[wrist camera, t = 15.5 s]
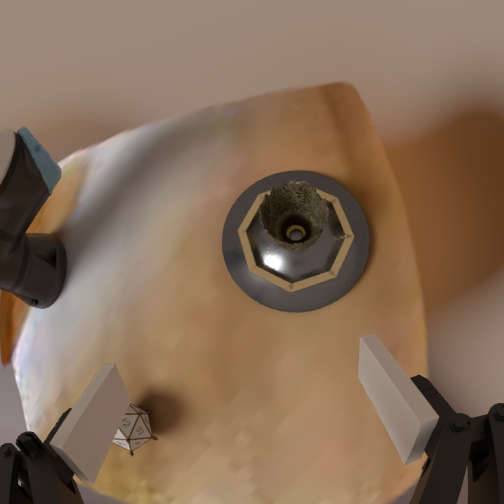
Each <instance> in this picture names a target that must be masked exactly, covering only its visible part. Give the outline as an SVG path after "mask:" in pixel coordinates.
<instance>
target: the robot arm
mask: <svg viewBox="0 0 504 504" xmlns="http://www.w3.org/2000/svg"><path fill="white" fill-rule="evenodd" d="M60 178H61V168H60V167H59V165H58V164H57V163H56V162H55V160H54V159H53V158H52V157H51V156H50V154H49V153H48V152H47V151H46V150H45V149H44V148H43V146H42V145H41V144H40V143H39V142H38V140H36V138H35V137H34V136H33V135H32V133H31V132H30V131H29V130H28V129H27V128H26V127H22V128H21V129H19V130H18V131H17V133H15V132H14V131H12V130H11V129H8V128H5V129H2V130H0V290H4V291H8V292H11V293H13V294H14V295H15V296H17V297H18V298H19V299H21V300H22V301H24V302H25V303H26V304H28V305H29V306H32V307H35V308H40V309H44V308H47V307H49V306H50V305H51V304H52V303H53V302H54V301H55V300H56V298H57V297H58V295H59V293H60V291H61V288H62V286H63V282H64V278H65V273H66V253H65V249H64V246H63V244H62V242H61V241H60V240H59V239H58V238H56V237H54V236H52V235H50V234H45V233H25V232H26V231H27V229H28V227H29V226H30V224H31V223H32V221H33V220H34V218H35V216H36V215H37V213H38V212H39V210H40V209H41V207H42V206H43V205H44V203H45V202H46V200H47V199H48V197H49V196H50V195H51V194H52V191H53V189H54V188H55V186H56V185H57V183H58V182H59V180H60ZM358 378H359V380H360V382H361V384H362V386H363V387H364V389H365V391H366V393H367V395H368V397H369V398H370V400H371V402H372V404H373V406H374V408H375V409H376V411H377V413H378V415H379V417H380V419H381V421H382V423H383V424H384V426H385V428H386V430H387V432H388V434H389V436H390V438H391V440H392V442H393V443H394V445H395V447H396V449H397V451H398V453H399V455H400V457H401V459H402V461H403V463H404V465H406V464H409V463H411V462H414V461H416V460H418V459H421V457H422V455H423V453H424V451H425V453H426V454H427V456H428V458H427V460H426V462H425V463H424V465H423V467H422V469H423V471H422V474H421V476H420V479H419V482H418V484H417V487H416V489H415V491H414V494H413V496H412V498H411V501H410V503H409V504H456V503H457V501H458V497H459V494H460V491H461V487H462V483H463V479H464V475H465V471H466V467H467V465H468V504H504V403H498V404H495V405H493V406H492V407H491V408H490V410H489V412H488V414H486V415H482V416H478V417H474V418H470V417H469V416H468V415H465V414H462V413H456V412H455V411H454V410H453V409H452V408H451V406H450V405H449V404H448V403H447V402H446V400H445V399H444V398H443V397H442V396H441V394H440V393H438V391H437V390H436V388H434V386H433V385H432V384H431V382H430V381H429V380H428V379H426V378H424V377H422V376H421V375H417V376H414V377H412V378H409V377H408V375H407V374H406V373H405V372H404V370H403V369H402V368H401V367H400V365H399V364H398V363H397V361H396V360H395V359H394V358H393V356H392V355H391V354H390V353H389V352H388V350H387V349H386V348H385V347H384V345H383V344H382V343H381V342H380V340H379V339H378V338H377V337H376V336H375V334H374V333H373V334H369V335H365V336H360V353H359V369H358ZM131 401H132V400H131V398H130V396H129V393H128V391H127V389H126V387H125V385H124V383H123V380H122V378H121V376H120V374H119V371H118V369H117V367H116V364H115V363H104V364H103V366H102V367H101V368H100V370H99V371H98V373H97V374H96V375H95V377H94V378H93V380H92V381H91V382H90V384H89V385H88V387H87V388H86V389H85V391H84V392H83V394H82V395H81V397H80V398H79V399H78V401H77V402H76V404H75V405H74V407H73V408H69V409H68V410H67V411H66V412H64V413H63V414H62V416H61V417H60V419H59V422H57V423H56V425H55V427H54V428H53V429H52V430H51V432H50V433H49V435H48V437H47V438H46V440H45V441H44V443H42V442H41V440H40V439H39V438H38V436H37V435H36V434H35V433H34V432H30V431H28V432H24V433H22V434H21V435H20V436H18V438H17V440H16V445H17V446H18V447H19V448H20V450H21V451H18V450H17V448H16V447H15V446H14V445H13V444H11V443H5V444H3V445H1V447H0V504H84V502H83V500H82V498H81V495H80V492H79V490H78V487H77V484H76V482H75V480H74V479H73V476H74V474H75V475H76V476H77V477H78V478H79V479H80V480H81V481H85V482H88V483H92V484H94V482H95V480H96V477H97V475H98V473H99V470H100V468H101V466H102V463H103V461H104V459H105V457H106V454H107V452H108V450H109V448H110V446H111V443H112V441H113V439H114V437H115V435H116V432H117V430H118V428H119V426H120V424H121V422H122V420H123V417H124V415H125V413H126V411H127V409H128V407H129V405H130V403H131ZM18 479H19V480H20V481H21V486H20V485H18Z"/></svg>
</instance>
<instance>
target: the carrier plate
mask: <svg viewBox="0 0 504 504" xmlns="http://www.w3.org/2000/svg"><path fill="white" fill-rule="evenodd" d="M292 180H294V181H295V182H296V184H299V183H301V182H303V181H305V182H308V183H309V185H310V186H311V187H315V188H316V191H317V194H319V195H320V196H321V198H322V199H324V198H325V199H326V201H327V206H328V209H329V216H328V219H327V223H326V226H325V228H324V230H323V232H322V233H321V235H320V237H319V238H318V240H317V241H316V242H315V243H314V244H313V245H312V246H310V247H309V248H307V249H304V250H301V251H290V250H286V249H284V248H282V247H280V246H279V245H277V244H276V243H275V242H274V241H273V240H272V239H271V237H270V236H269V235H268V234H267V232H266V231H265V229H264V227H263V225H262V224H261V223H260V219H259V217H260V213H259V205H260V204H261V203H263V202H264V196H265V194H268V195H270V192H271V189H272V187H274V186H277V187H278V186H279V184H280V183H284V184H287V185H288V186H289V183H290V182H291V181H292ZM290 238H291V239H292V240H300V239H301V238H302V232H301V231H300V230H298V229H294V230H292V231H291V233H290ZM369 248H370V234H369V227H368V223H367V220H366V217H365V214H364V212H363V210H362V208H361V206H360V205H359V203H358V202H357V200H356V199H355V198H354V197H353V195H352V194H351V193H350V192H349V191H348V190H347V189H345V188H344V187H343V186H342V185H340V184H339V183H337V182H336V181H334V180H332V179H330V178H328V177H326V176H323V175H320V174H317V173H312V172H307V171H287V172H281V173H277V174H273V175H270V176H268V177H265V178H263V179H261V180H259V181H257V182H256V183H254V184H253V185H252V186H250V187H249V188H248V189H247V190H245V191H244V192H243V193H242V194H241V195H240V197H239V198H238V199H237V200H236V201H235V203H234V204H233V206H232V208H231V209H230V211H229V213H228V216H227V218H226V221H225V224H224V229H223V236H222V250H223V255H224V260H225V263H226V266H227V268H228V270H229V272H230V274H231V276H232V278H233V279H234V281H235V282H236V284H237V285H238V286H239V287H240V288H241V289H242V290H243V291H244V292H245V293H246V294H247V295H248V296H250V297H251V298H252V299H254V300H255V301H257V302H259V303H260V304H262V305H264V306H267V307H269V308H272V309H275V310H278V311H284V312H308V311H313V310H317V309H320V308H323V307H325V306H327V305H330V304H331V303H333V302H335V301H336V300H338V299H339V298H341V297H342V296H343V295H344V294H346V293H347V292H348V291H349V290H350V289H351V287H352V286H353V285H354V284H355V283H356V281H357V280H358V279H359V277H360V275H361V273H362V272H363V270H364V268H365V265H366V262H367V259H368V254H369Z"/></svg>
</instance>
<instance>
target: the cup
mask: <svg viewBox="0 0 504 504" xmlns="http://www.w3.org/2000/svg"><path fill="white" fill-rule="evenodd" d="M259 213H260V217H259V219H260V223H261V224H262V225H263V227H264V229H265V231H266V232H267V234H268V235H269V236H270V237H271V239H272V240H273V241H274V242H275V243H276V244H277V245H279V246H280V247H282V248H284V249H286V250H290V251H301V250H304V249H307V248H309V247H310V246H312V245H313V244H314V243H315V242H316V241H317V240H318V238H319V237H320V235H321V233H322V232H323V230H324V228H325V226H326V223H327V219H328V216H329V209H328V206H327V201H326V199H325V198H324V199H322V198H321V196H320V195H319V194H317V191H316V188H315V187H311V186H310V185H309V183H308V182H305V181H303V182H301V183H299V184H296V182H295V181H294V180H292V181H291V182H290V183H289V186H288V185H287V184H284V183H280V184H279V186H278V187H277V186H274V187H272V189H271V192H270V195H268V194H265V196H264V202H263V203H261V204H260V205H259ZM294 229H298V230H300V231H301V232H302V238H301V239H300V240H292V239H291V238H290V233H291V231H292V230H294Z"/></svg>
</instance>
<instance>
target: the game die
mask: <svg viewBox="0 0 504 504" xmlns="http://www.w3.org/2000/svg"><path fill="white" fill-rule="evenodd" d="M151 412H152V411H150V410H149V411H148V412H145V411H143V410H142V409H140V408H138V407H136V406H135V405H133V404H131V403H130V405H129V407H128V409H127V411H126V413H125V415H124V417H123V420H122V422H121V424H120V426H119V428H118V430H117V432H116V435H115V437H114V439H113V441H112V442H113V443H115V444H117V445H119V446H121V447H123V448H125V449H127V450H129V451H130V455H131V456H132V457H133V455H134V454H133V451H134V450H135V449H137V448H138V447H140V446H141V445H143V444H144V443H146V442H147V441H148V440H150V439H151V438H153V440H158V439H157V438H156V437H155V436H152V431H151V426H150V421H149V415H148V414H150V413H151Z"/></svg>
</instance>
